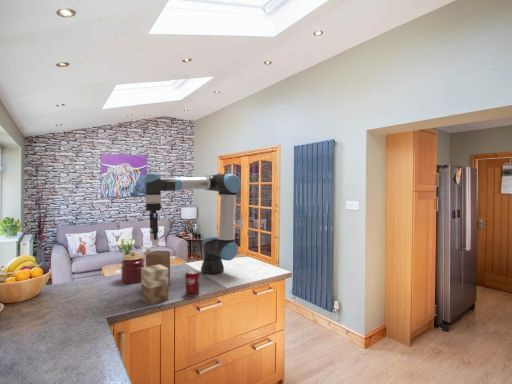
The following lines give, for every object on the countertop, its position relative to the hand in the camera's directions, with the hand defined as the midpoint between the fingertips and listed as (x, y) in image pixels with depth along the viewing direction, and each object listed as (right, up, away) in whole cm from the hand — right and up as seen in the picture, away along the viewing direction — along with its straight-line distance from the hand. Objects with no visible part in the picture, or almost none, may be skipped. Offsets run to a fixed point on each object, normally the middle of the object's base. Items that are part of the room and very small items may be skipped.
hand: (154, 243), depth 158 cm
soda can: (+20, -28, +2) cm, 34 cm away
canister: (-20, -27, +23) cm, 41 cm away
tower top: (+2, -20, -6) cm, 20 cm away
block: (-1, -27, +11) cm, 29 cm away
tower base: (+2, -28, -5) cm, 28 cm away
